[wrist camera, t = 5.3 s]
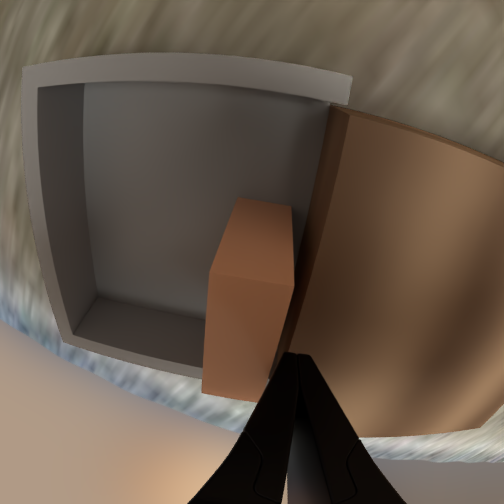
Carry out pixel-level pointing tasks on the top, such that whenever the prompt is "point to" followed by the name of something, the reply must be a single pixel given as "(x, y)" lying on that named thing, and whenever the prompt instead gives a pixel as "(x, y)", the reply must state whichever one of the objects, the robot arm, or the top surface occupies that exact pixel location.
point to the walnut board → (402, 278)
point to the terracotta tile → (248, 299)
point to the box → (160, 185)
